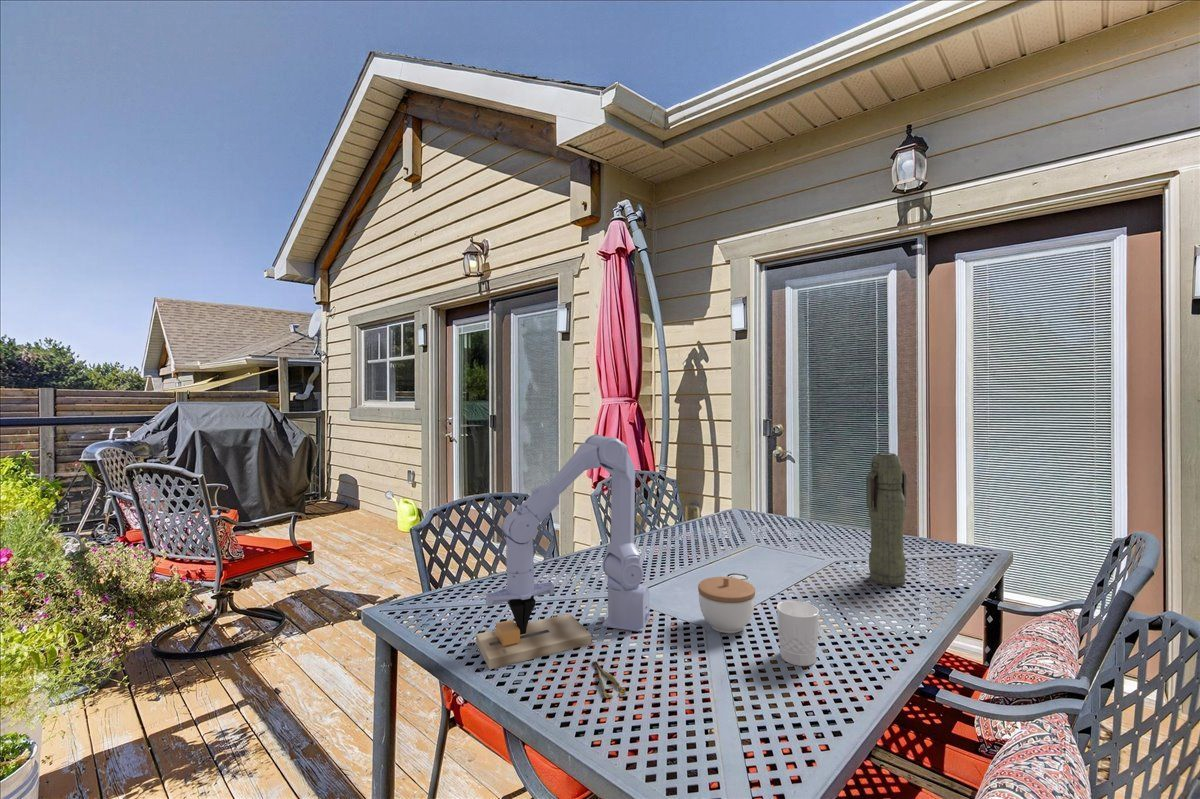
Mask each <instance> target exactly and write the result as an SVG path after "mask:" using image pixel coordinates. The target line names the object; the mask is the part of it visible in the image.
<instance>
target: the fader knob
mask: <svg viewBox="0 0 1200 799" xmlns="http://www.w3.org/2000/svg"><path fill="white" fill-rule="evenodd" d="M495 630H496V635H497V637H498V638H499V640H500V642H501V643H502V645H503V646H506V645H510V644H515V643H519V642H520V630H519V628H518V627H517V625H516V622H515V620H513V619H510V620H505V621H500V622H496V623H495Z"/></svg>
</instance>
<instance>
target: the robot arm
mask: <svg viewBox="0 0 1200 799" xmlns="http://www.w3.org/2000/svg"><path fill="white" fill-rule="evenodd" d="M631 458H632V457H630V454H629V452H628V445H626V444H625V443H624V442H623V441H621V439H619V438H617V437H613V436H611V437H608V436H605V435H601V434H591V435H590V436H588V437H587V438H586V439H585V440H584V442H582V443H581V444H580V445H579V446H578V447H577V449H576V450H575V453H574V454H573V455H572V456H571V457H570V459H569V460H568V461H566V463H565V465H563V466H562V467H561V469H559V471H558V472H557V474H556V475H555V476H554V477H553V478H552V479H551V481H550V482H549V483H548V484H540V485H538V487H535V486H534V487H533V488H532V489H531V490H530V492H531V494H530V495H528V498H526V499H525V500H524V502H523V503H522V504H520V505H519V504H518V505H517V506H516V508H515V510H514V511H511V512H510V513H508V514H507V515H506V516H505V518H504V522H503V523H502V524H501V528H502V529H501V530H502V531H503V534H505V535H506V536H505V538H506V539H505V541H506V542H505V543H506V548H505V555H506V556H505V557H506V558H505V560H506V563H505V564H506V567H505V568H506V588H503V589H500V590H497V591H494V592H491V593H486V594H485V604H486V605H487V607H488V608H490V607H493V606H494V605H497V604H503V603H507V604H508V606H509V608H510V610H511V613H512V616H513V618H514V623H515V624H516V625H517V627H518V628H519V630H520V635H522V634H526V629H527V625H528V623H529V620H530V617H531V614H532V613H533V610H534V609H535V607H536V603H537V602H536V599H535V597H538V596H543V595H548V594H549V595H554V594H555V584H553V583H552V582H540V583H535V571H534V570H535V567H534V544H533V542H534V541H533V540H534V538H535V537H536V535H537V533H538V527H539V525H540V524H541V523H542V522H543V521H544V520H545V519H546V518H547V517H548V516H549V515H550V514H551V513H552V511H553V510H554V509H555V508H556V507H557V506H558V505H559V504H560V495H561V494H562V493H564V491H565V490H566V489H567V488H568V487H569V486H570V485H571V484H572V483H573V482H574V481H576V480H577V479H578V478H579V477H580V475H582V474H583V473H584V472H585V471H586V470H592V469H600V468H603V469H605V471H607V472H608V473H609V474H610V475H611V500H610V501H611V503H610V504H611V505H610V506H611V510H610V511H611V516H610V519H611V521H610V523H611V524H610V542H609V544H608V545H607V546H606V548H605V551H606V552H605V555H604V556H605V557H604V558H603V560H602V570H603V573H604V574H605V575H606V576H607V611H608V612H607V615H608V616H607V617H606V619H605V620H604V622H603V623H602V627H603V628H611V629H617V630H624V631H631V632H632V631H633V632H638V633H639V631H640V633H642V632H643V631H644V630H645V628H646V626H647V624H648V623H649V621H650V619H651V615H650V611H651V610H650V590H649V587H648V586H645V585H643V584H642V585H641V582H642V581H643V579H644V573H645V571H644V568H643V566H642V562H641V554H640V552H639V551H638V548H637V546H636V544H635V504H636V503H635V500H636V497H635V496H636V494H635V493H636V492H635V491H636V489H635V488H636V468H635V464H634V463H633V461H632V459H631ZM641 631H642V632H641Z"/></svg>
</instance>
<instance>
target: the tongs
mask: <svg viewBox="0 0 1200 799" xmlns="http://www.w3.org/2000/svg"><path fill="white" fill-rule="evenodd" d="M592 664H593V665H594V668H595V669H596V672H597V675H598V678H599V682H600V686H601V689H602V695H604V697H605V698H606V699H612V700H613V699H614V698H613V697H614V696H613V695H612V694H610V693H607V691H606V688H605V685H604V683H603V678H602V674H603V675H604V676H605V677H606V678H607V679H608V680H610V682H612V683H613V684H614V687H616V688H617V689H618V690H619V693H618V694H619V697H620V698H621V697H622V696H624V695H626V693H627V690H626V689H625V688H624V687H622V686H621V684H620V682H618V681H617V679H616V678H615V676H614V675H612V674H611V673H609V672H607V671H605V670H604V669H603V668H602V667H601V666H600V665H599V663H598V662H597V660H594V661H592Z"/></svg>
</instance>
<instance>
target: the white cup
mask: <svg viewBox="0 0 1200 799" xmlns="http://www.w3.org/2000/svg"><path fill="white" fill-rule="evenodd" d="M819 613H820V611H819V608H818V607H816V606H815V605H813V604H812V603H809V602H806V601H805V602H804V601H801V600H800V601H799V600H784V601H781V602H778V603H777V604H776V614H777V615H776V616H777V617H776V618H777V634H778V643H779V652H780V657H781V659H782V660H783V661H784V662H786V663H788V664H791V665H793V666H794V665H795V666H799V667H808V666H809V667H810V666H813V665H815V663H816V662H817V649H818V648H817V647H818V638H819V616H820V614H819Z"/></svg>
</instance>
